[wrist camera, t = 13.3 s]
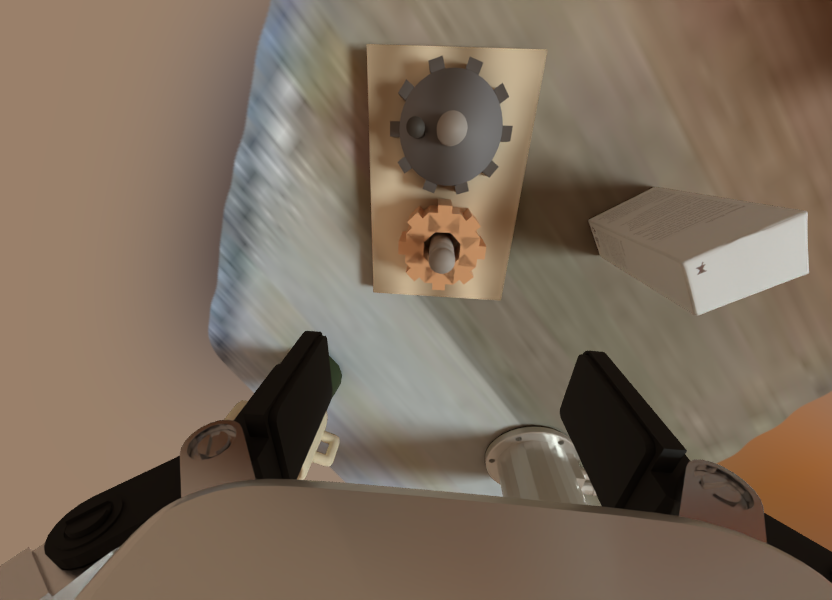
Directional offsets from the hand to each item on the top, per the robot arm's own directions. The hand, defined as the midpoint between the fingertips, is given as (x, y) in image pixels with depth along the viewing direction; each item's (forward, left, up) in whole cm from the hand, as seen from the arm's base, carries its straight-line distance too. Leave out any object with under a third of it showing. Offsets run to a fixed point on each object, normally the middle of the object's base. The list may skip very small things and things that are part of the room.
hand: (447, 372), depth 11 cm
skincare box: (-17, -2, -20) cm, 27 cm away
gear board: (0, -4, -20) cm, 21 cm away
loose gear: (0, 0, -19) cm, 19 cm away
